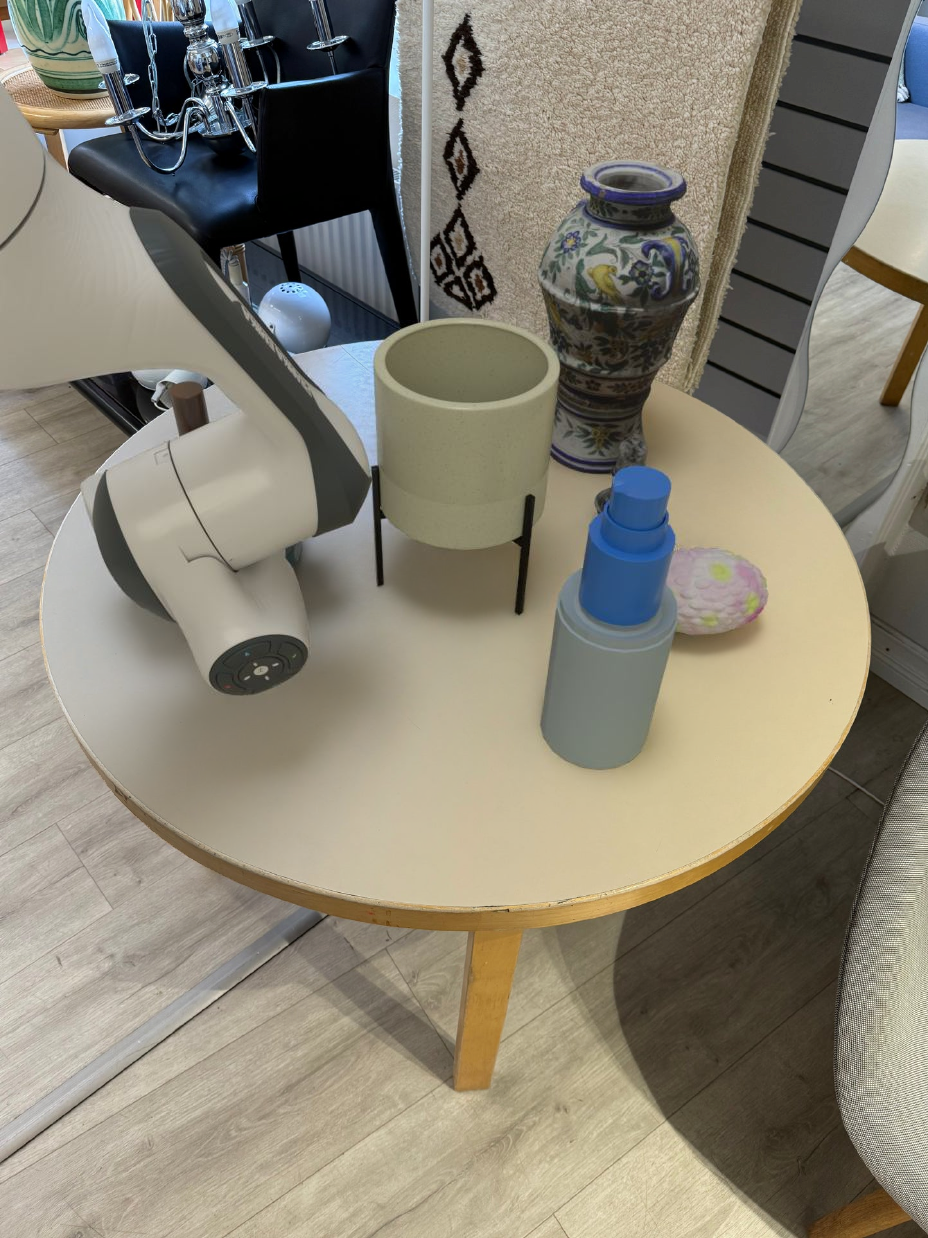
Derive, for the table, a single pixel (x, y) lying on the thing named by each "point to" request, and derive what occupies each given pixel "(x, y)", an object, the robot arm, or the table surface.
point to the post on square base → (189, 406)
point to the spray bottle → (613, 628)
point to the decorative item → (715, 590)
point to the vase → (614, 304)
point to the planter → (463, 435)
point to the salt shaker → (624, 465)
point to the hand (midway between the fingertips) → (196, 442)
